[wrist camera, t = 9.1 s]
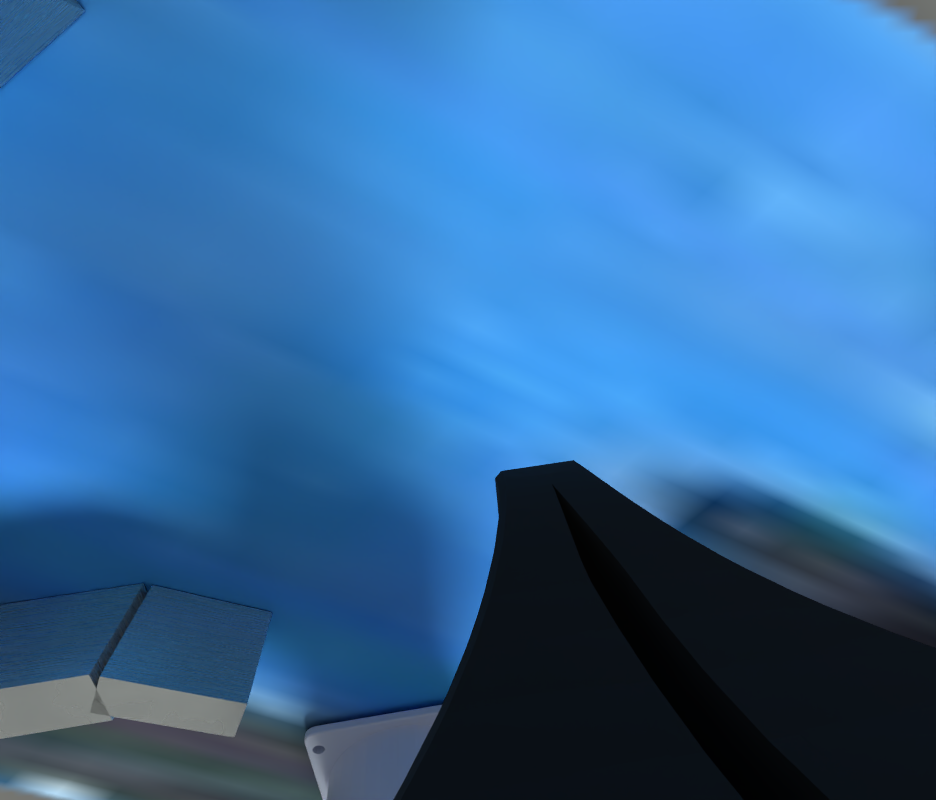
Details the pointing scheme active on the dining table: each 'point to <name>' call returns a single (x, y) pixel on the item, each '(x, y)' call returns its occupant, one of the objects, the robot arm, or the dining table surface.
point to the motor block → (117, 591)
